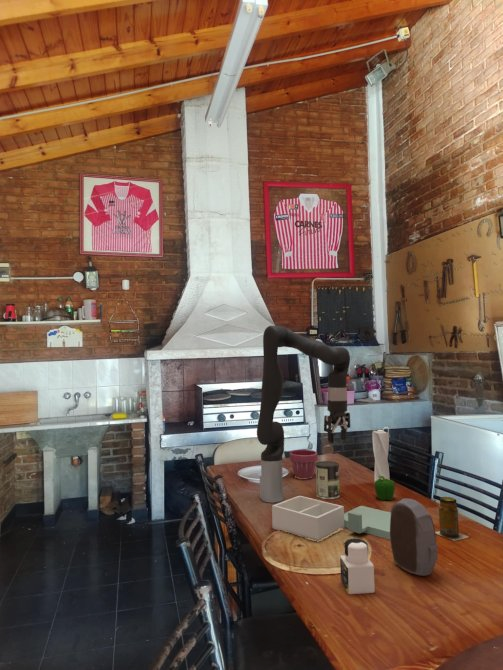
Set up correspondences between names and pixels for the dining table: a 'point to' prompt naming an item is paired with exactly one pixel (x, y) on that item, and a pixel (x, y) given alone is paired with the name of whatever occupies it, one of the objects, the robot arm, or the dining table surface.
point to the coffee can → (327, 480)
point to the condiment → (449, 519)
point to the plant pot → (303, 462)
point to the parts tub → (307, 517)
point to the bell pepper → (384, 488)
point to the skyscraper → (381, 453)
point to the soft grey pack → (413, 537)
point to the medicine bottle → (357, 568)
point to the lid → (368, 521)
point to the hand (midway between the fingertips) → (337, 441)
